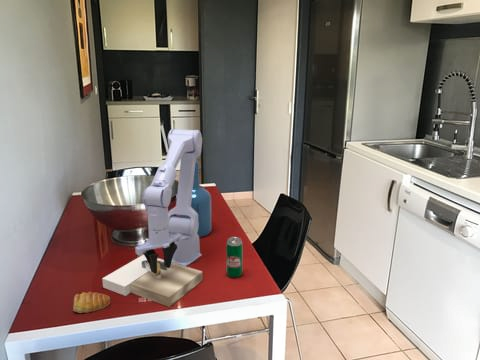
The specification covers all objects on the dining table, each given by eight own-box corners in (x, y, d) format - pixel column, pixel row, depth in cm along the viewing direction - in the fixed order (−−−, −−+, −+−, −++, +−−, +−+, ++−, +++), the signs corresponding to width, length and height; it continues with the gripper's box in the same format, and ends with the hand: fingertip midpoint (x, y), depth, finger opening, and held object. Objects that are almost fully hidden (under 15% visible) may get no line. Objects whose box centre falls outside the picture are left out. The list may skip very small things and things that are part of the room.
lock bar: (140, 265, 124) (139, 250, 122) (147, 262, 125) (146, 248, 124) (155, 280, 115) (154, 264, 114) (162, 278, 117) (162, 262, 115)
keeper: (159, 266, 123) (159, 260, 123) (167, 269, 122) (166, 263, 121) (157, 268, 123) (157, 262, 122) (165, 270, 121) (164, 264, 121)
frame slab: (144, 262, 132) (144, 254, 132) (166, 268, 128) (165, 260, 127) (103, 287, 117) (102, 278, 116) (125, 295, 113) (124, 286, 112)
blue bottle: (208, 239, 150) (207, 162, 141) (174, 238, 151) (171, 161, 143) (214, 225, 163) (213, 154, 154) (183, 224, 164) (180, 153, 156)
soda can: (225, 277, 123) (224, 242, 120) (227, 269, 128) (227, 235, 125) (241, 279, 122) (241, 243, 119) (243, 271, 127) (243, 236, 124)
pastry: (111, 297, 113) (109, 285, 112) (109, 311, 107) (108, 298, 106) (75, 302, 111) (74, 290, 109) (72, 316, 104) (70, 303, 103)
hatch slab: (166, 269, 128) (166, 260, 127) (202, 280, 122) (202, 271, 121) (131, 292, 115) (130, 283, 114) (169, 306, 108) (168, 297, 107)
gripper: (143, 238, 106) (146, 283, 109) (187, 223, 115) (188, 265, 119) (130, 230, 110) (133, 274, 114) (173, 217, 120) (174, 257, 124)
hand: (160, 269), depth 117 cm, fingers open, 4 cm apart
